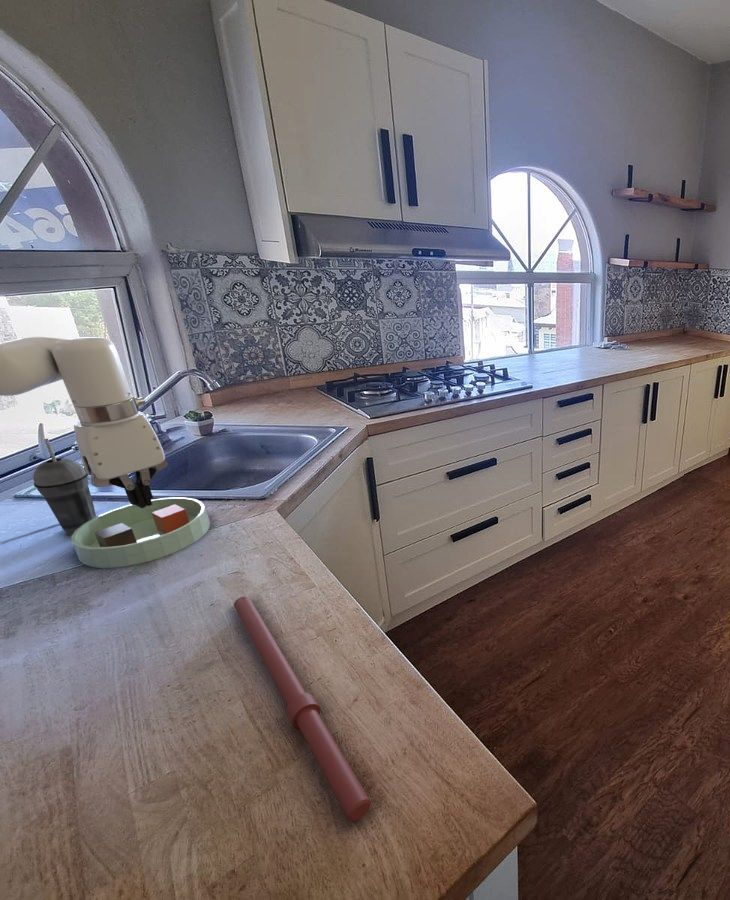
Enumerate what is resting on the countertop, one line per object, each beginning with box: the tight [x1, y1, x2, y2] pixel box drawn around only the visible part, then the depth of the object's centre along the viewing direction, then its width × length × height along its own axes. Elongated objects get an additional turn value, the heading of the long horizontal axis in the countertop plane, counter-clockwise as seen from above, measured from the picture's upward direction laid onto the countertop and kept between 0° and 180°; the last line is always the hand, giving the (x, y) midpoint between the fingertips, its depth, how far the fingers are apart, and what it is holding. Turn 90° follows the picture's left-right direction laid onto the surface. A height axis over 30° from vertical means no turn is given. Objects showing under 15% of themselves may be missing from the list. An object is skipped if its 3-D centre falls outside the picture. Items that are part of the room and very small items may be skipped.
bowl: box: [70, 496, 211, 569], centre depth 96 cm, size 19×19×4 cm
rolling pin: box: [233, 596, 372, 822], centre depth 65 cm, size 45×3×3 cm, turn 46°
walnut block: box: [95, 523, 137, 547], centre depth 92 cm, size 4×4×4 cm
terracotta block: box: [152, 505, 189, 534], centre depth 100 cm, size 4×4×4 cm
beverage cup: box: [32, 438, 97, 536], centre depth 96 cm, size 7×7×20 cm
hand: (143, 504), depth 93 cm, fingers closed
